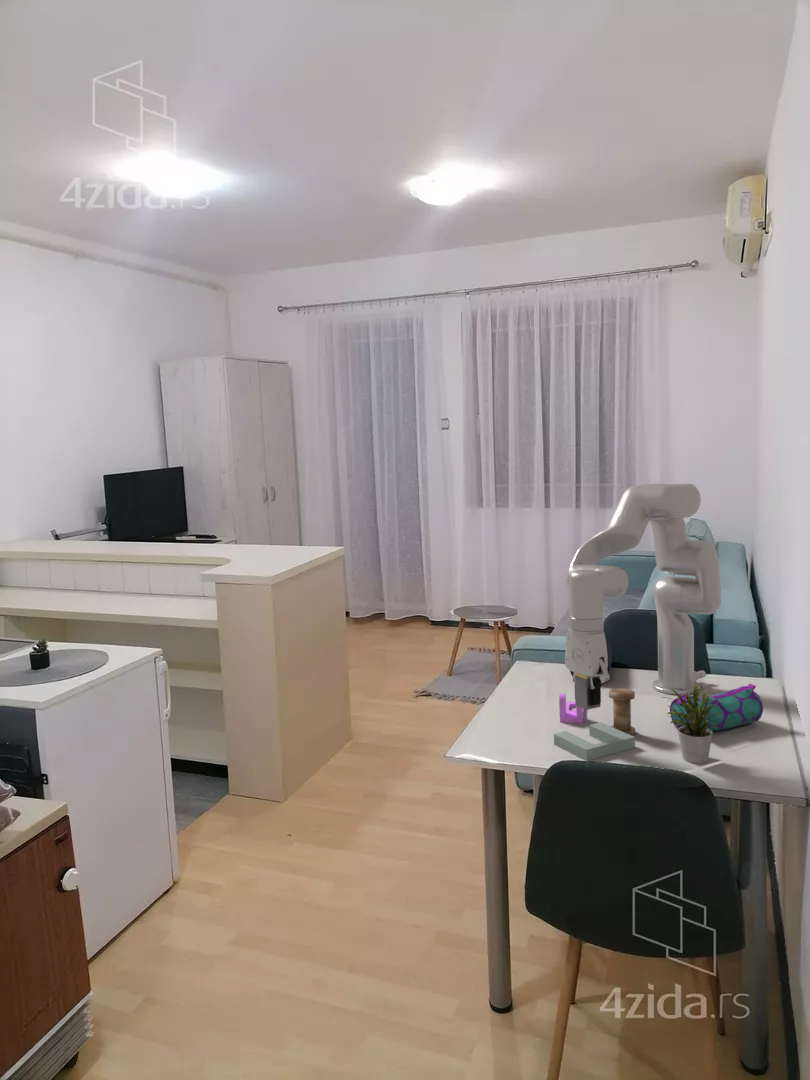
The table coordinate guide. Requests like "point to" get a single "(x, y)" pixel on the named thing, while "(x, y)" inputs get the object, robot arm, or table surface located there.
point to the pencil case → (727, 708)
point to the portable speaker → (609, 656)
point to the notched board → (587, 751)
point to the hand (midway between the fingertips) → (587, 701)
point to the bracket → (566, 713)
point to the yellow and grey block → (582, 691)
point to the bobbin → (622, 710)
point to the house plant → (694, 727)
